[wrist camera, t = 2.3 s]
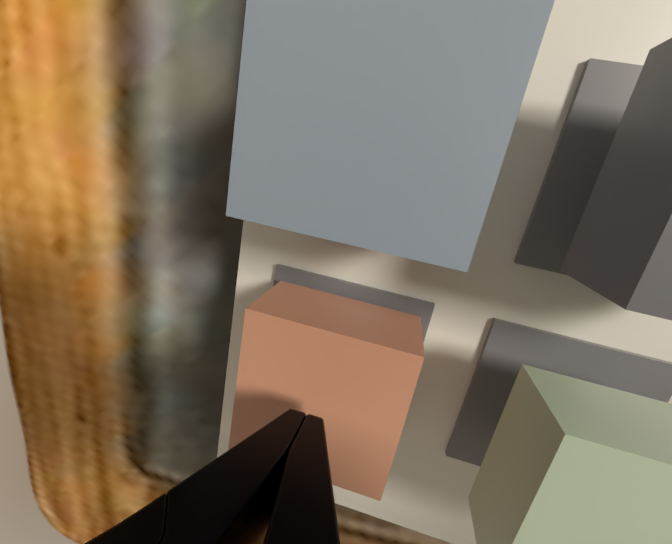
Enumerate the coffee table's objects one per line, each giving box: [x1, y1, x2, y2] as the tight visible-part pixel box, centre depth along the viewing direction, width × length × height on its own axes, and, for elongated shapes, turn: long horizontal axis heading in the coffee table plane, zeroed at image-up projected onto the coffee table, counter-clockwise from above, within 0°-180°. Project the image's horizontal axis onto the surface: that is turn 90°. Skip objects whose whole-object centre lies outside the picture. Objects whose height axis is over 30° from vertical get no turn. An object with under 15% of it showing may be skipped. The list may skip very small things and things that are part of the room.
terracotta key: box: [228, 281, 425, 501], centre depth 10 cm, size 4×4×2 cm
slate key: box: [226, 0, 555, 272], centre depth 7 cm, size 4×4×2 cm
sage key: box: [468, 364, 672, 544], centre depth 8 cm, size 4×4×2 cm
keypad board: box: [217, 0, 672, 544], centre depth 11 cm, size 15×20×2 cm
